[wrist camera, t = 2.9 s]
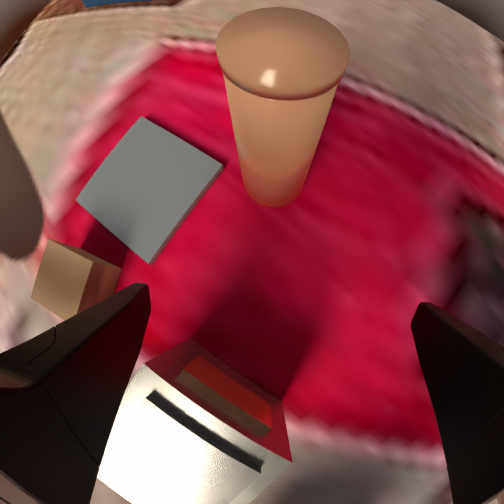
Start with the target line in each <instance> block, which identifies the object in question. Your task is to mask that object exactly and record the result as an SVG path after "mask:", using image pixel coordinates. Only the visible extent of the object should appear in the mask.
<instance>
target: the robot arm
mask: <svg viewBox="0 0 504 504" xmlns="http://www.w3.org/2000/svg"><path fill="white" fill-rule="evenodd" d="M150 312H151V303H150V294H149V287H148V285H147V284H144V283H133V284H132V285H130V286H128V287H126V288H124V289H122V290H120V291H118V292H117V293H115V294H113V295H111V296H109V297H107V298H105V299H104V300H102V301H100V302H98V303H96V304H94V305H92V306H91V307H89V308H87V309H85V310H83V311H81V312H80V313H78V314H76V315H74V316H72V317H70V318H69V319H67V320H65V321H63V322H61V323H60V324H58V325H56V328H55V327H52V328H51V329H49V330H47V331H45V332H43V333H42V334H40V335H38V336H36V337H34V338H32V339H30V340H28V341H26V342H24V343H22V344H20V345H18V346H15V347H13V348H11V349H9V350H7V351H5V352H3V353H0V504H90V500H91V496H92V493H93V489H94V486H95V482H96V479H97V475H98V472H99V469H100V467H99V466H100V465H101V461H102V458H103V455H104V452H105V449H106V446H107V442H108V439H109V436H110V433H111V430H112V427H113V424H114V421H115V418H116V416H117V413H118V410H119V407H120V404H121V401H122V399H123V396H124V393H125V390H126V387H127V385H128V382H129V379H130V377H131V374H132V371H133V369H134V366H135V364H136V361H137V358H138V356H139V353H140V350H141V346H142V342H143V338H144V334H145V331H146V327H147V323H148V319H149V316H150ZM411 329H412V333H413V337H414V341H415V346H416V350H417V354H418V359H419V363H420V366H421V369H422V372H423V375H424V379H425V382H426V385H427V388H428V392H429V395H430V398H431V402H432V405H433V409H434V413H435V416H436V420H437V424H438V428H439V432H440V436H441V440H442V445H443V449H444V454H445V458H446V463H447V469H448V475H449V480H450V486H451V492H452V499H453V504H487V503H489V502H490V501H492V500H494V499H496V498H497V500H498V503H499V504H504V347H502V346H501V345H500V344H498V343H497V342H495V341H494V340H492V339H490V338H489V337H487V336H486V335H484V334H482V333H481V332H479V331H478V330H476V329H474V328H473V327H471V326H469V325H468V324H466V323H464V322H463V321H461V320H459V319H458V318H456V317H454V316H453V315H451V314H449V313H448V312H446V311H444V310H443V309H441V308H439V307H438V306H436V305H434V304H432V303H430V302H421V303H420V304H419V305H418V307H417V310H416V312H415V314H414V317H413V319H412V322H411Z"/></svg>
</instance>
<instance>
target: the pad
mask: <svg viewBox="0 0 504 504" xmlns="http://www.w3.org/2000/svg"><path fill="white" fill-rule="evenodd" d="M223 170H224V167H223V165H222V164H221V163H219V162H218V161H216V160H214V159H213V158H211V157H210V156H208V155H206V154H205V153H203V152H201V151H200V150H198V149H196V148H195V147H193V146H192V145H190V144H188V143H187V142H185V141H183V140H182V139H180V138H178V137H176V136H175V135H173V134H171V133H170V132H168V131H166V130H165V129H163V128H161V127H159V126H158V125H156V124H154V123H152V122H151V121H149V120H147V119H145V118H144V117H142V116H141V117H140V118H139V119H138V120H137V121H136V123H135V124H134V125H133V126H132V127H131V128H130V129H129V131H128V132H127V133H126V134H125V135H124V137H123V138H122V139H121V140H120V141H119V143H118V144H117V145H116V146H115V147H114V149H113V150H112V151H111V152H110V154H109V155H108V156H107V158H106V159H105V160H104V161H103V163H102V164H101V165H100V167H99V168H98V169H97V171H96V172H95V173H94V175H93V176H92V177H91V179H90V180H89V182H88V183H87V184H86V186H85V187H84V189H83V190H82V191H81V193H80V194H79V196H78V197H77V199H76V201H77V202H78V203H79V204H80V205H81V206H83V207H84V208H85V209H86V210H87V211H88V212H89V213H90V214H91V215H92V216H93V217H95V218H96V219H97V220H98V221H99V222H100V223H101V224H102V225H104V226H105V227H106V228H107V229H108V230H109V231H110V232H112V233H113V234H114V235H115V236H116V237H117V238H118V239H120V240H121V241H122V242H123V243H124V244H125V245H127V246H128V247H129V248H130V249H131V250H133V251H134V252H135V253H136V254H137V255H138V256H140V257H141V258H142V259H143V260H144V261H146V262H147V263H148V264H151V265H153V263H154V262H155V260H156V259H157V257H158V256H159V255H160V253H161V252H162V250H163V249H164V248H165V246H166V245H167V243H168V242H169V241H170V239H171V238H172V236H173V235H174V234H175V232H176V231H177V230H178V228H179V227H180V226H181V224H182V223H183V222H184V220H185V219H186V217H187V216H188V215H189V214H190V212H191V211H192V210H193V208H194V207H195V206H196V204H197V203H198V202H199V200H200V199H201V198H202V196H203V195H204V194H205V193H206V191H207V190H208V189H209V187H210V186H211V185H212V184H213V182H214V181H215V180H216V179H217V177H218V176H219V175H220V174H221V172H222V171H223Z"/></svg>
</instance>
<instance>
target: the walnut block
mask: <svg viewBox="0 0 504 504" xmlns="http://www.w3.org/2000/svg"><path fill="white" fill-rule="evenodd" d="M121 270H122V268H120V267H118V266H116V265H113V264H111V263H109V262H107V261H105V260H103V259H101V258H99V257H97V256H95V255H92V254H90V253H88V252H86V251H84V250H82V249H80V248H77V247H73V246H70V245H67V244H63V243H60V242H57V241H54V240H50V239H49V240H48V243H47V245H46V248H45V251H44V254H43V257H42V261H41V264H40V267H39V270H38V274H37V277H36V281H35V284H34V288H33V292H32V295H31V298H32V299H34V300H35V301H37V302H38V303H40V304H41V305H42V306H44V307H45V308H47V309H48V310H50V311H51V312H53V313H54V314H56V315H57V316H59V317H60V318H62V319H63V320H67V319H69V318H70V317H72V316H74V315H76V314H78V313H80V312H81V311H83V310H85V309H87V308H89V307H91V306H92V305H94V304H96V303H98V302H100V301H102V300H104V299H105V298H107V297H109V296H111V295H113V293H114V290H115V287H116V284H117V281H118V279H119V276H120V273H121Z"/></svg>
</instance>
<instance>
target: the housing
mask: <svg viewBox="0 0 504 504" xmlns="http://www.w3.org/2000/svg"><path fill="white" fill-rule="evenodd" d="M291 464H292V458H291V452H290V446H289V440H288V435H287V429H286V423H285V418H284V412H283V406H282V401H281V400H279V399H278V398H276V397H274V396H273V395H271V394H270V393H268V392H267V391H265V390H264V389H262V388H261V387H259V386H257V385H256V384H254V383H253V382H251V381H250V380H248V379H247V378H246V377H244V376H243V375H241V374H240V373H238V372H237V371H235V370H234V369H232V368H231V367H230V366H228V365H227V364H225V363H224V362H223V361H221V360H220V359H218V358H217V357H216V356H214V355H213V354H212V353H210V352H209V351H207V350H206V349H205V348H203V347H202V346H201V345H199V344H198V343H197V342H195V341H194V340H193V339H191V338H190V339H188V340H186V341H184V342H183V343H181V344H179V345H177V346H175V347H173V348H172V349H170V350H168V351H166V352H164V353H162V354H161V355H159V356H157V357H155V358H153V359H151V360H149V361H148V362H146V363H144V364H143V365H142V367H141V368H140V370H139V371H138V373H137V374H136V375H135V377H134V378H133V380H132V381H131V383H130V384H129V386H128V387H127V389H126V390H125V393H124V396H123V399H122V401H121V404H120V407H119V410H118V413H117V416H116V418H115V421H114V424H113V427H112V430H111V433H110V436H109V439H108V442H107V446H106V449H105V452H104V455H103V458H102V461H101V465H100V466H99V467H100V469H99V472H98V475H97V477H98V478H99V479H100V480H101V481H103V482H104V483H105V484H106V485H108V486H109V487H110V488H112V489H113V490H114V491H116V492H117V493H118V494H120V495H121V496H123V497H124V498H125V499H127V500H128V501H130V502H131V503H133V504H249V503H250V502H252V501H253V500H254V499H255V498H256V497H257V496H258V495H259V494H261V493H262V492H263V491H264V490H265V489H266V488H267V487H268V486H269V485H270V484H271V483H272V482H273V481H275V480H276V479H277V478H278V477H279V476H280V475H281V474H282V473H283V472H284V471H285V470H286V469H287V468H288V467H289V466H290V465H291Z"/></svg>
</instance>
